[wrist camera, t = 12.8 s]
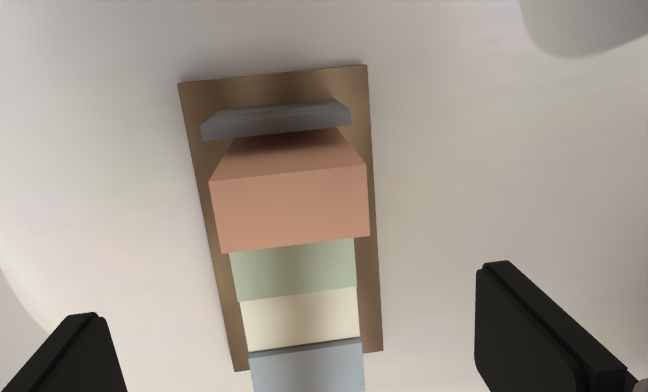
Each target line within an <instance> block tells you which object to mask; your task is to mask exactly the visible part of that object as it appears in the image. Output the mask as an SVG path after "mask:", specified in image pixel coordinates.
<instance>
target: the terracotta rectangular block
mask: <svg viewBox="0 0 648 392" xmlns="http://www.w3.org/2000/svg"><path fill="white" fill-rule="evenodd" d="M208 183H209V189H210V194H211V200H212V205H213V211H214V216H215V221H216V227H217V232H218V238H219V243H220V249H221V254H225V253H233V252H241V251H250V250H258V249H266V248H274V247H283V246H291V245H299V244H307V243H316V242H324V241H332V240H340V239H349V238H357V237H365V236H370V222H369V205H368V187H367V170H366V164H365V162H364V161H363V160H362V159H361V157H360V156H359V155H358V154H357V152H356V151H355V150H354V149H353V147H352V146H351V145H350V144H349V142H348V141H347V140H346V139H345V137H344V136H343V135H342V134H341V133H340V131H339V130H338V129H337V128H336V127H331V128H322V129H312V130H303V131H294V132H285V133H276V134H267V135H258V136H248V137H239V138H234V139H233V141H232V143H231V144H230V146H229V148H228V149H227V151H226V153H225V154H224V156H223V158H222V159H221V161H220V163H219V165H218V166H217V168H216V170H215V171H214V173H213V175H212V176H211V178H210V180H209V181H208Z"/></svg>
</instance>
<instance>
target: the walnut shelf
mask: <svg viewBox="0 0 648 392" xmlns="http://www.w3.org/2000/svg"><path fill="white" fill-rule="evenodd" d="M177 86H178V91H179V96H180V101H181V106H182V111H183V116H184V121H185V126H186V131H187V136H188V141H189V146H190V151H191V156H192V161H193V166H194V171H195V176H196V181H197V186H198V191H199V196H200V201H201V206H202V211H203V216H204V221H205V227H206V232H207V237H208V242H209V247H210V252H211V257H212V262H213V267H214V272H215V277H216V282H217V287H218V292H219V297H220V302H221V307H222V312H223V317H224V322H225V327H226V332H227V337H228V342H229V347H230V352H231V357H232V362H233V367H234V372H239V371H246V370H250V371H251V377H252V382H253V387H254V392H365V381H364V368H363V355H362V354H364V353H371V352H378V351H383V334H382V316H381V299H380V281H379V264H378V247H377V229H376V212H375V194H374V177H373V159H372V142H371V124H370V107H369V89H368V72H367V65H354V66H344V67H334V68H324V69H314V70H304V71H294V72H284V73H274V74H264V75H254V76H244V77H234V78H224V79H214V80H204V81H194V82H184V83H179V84H177ZM331 127H336V128H337V129H338V130H339V131H340V133H341V134H342V135H343V136H344V137H345V139H346V140H347V141H348V142H349V144H350V145H351V146H352V147H353V149H354V150H355V151H356V152H357V154H358V155H359V156H360V157H361V159H362V160H363V161H364V162H365V164H366V170H367V187H368V205H369V222H370V236H365V237H357V238H349V239H340V240H332V241H324V242H316V243H307V244H299V245H291V246H283V247H274V248H266V249H258V250H250V251H241V252H233V253H225V254H221V249H220V243H219V238H218V232H217V227H216V221H215V216H214V211H213V205H212V200H211V194H210V189H209V183H208V181H209V180H210V178H211V176H212V175H213V173H214V171H215V170H216V168H217V166H218V165H219V163H220V161H221V159H222V158H223V156H224V154H225V153H226V151H227V149H228V148H229V146H230V144H231V143H232V141H233V139H234V138H239V137H248V136H258V135H267V134H276V133H285V132H294V131H303V130H312V129H322V128H331Z"/></svg>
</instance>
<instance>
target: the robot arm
mask: <svg viewBox="0 0 648 392" xmlns="http://www.w3.org/2000/svg"><path fill="white" fill-rule="evenodd" d="M474 359H475V364H476V367H477V370H478V372H479V373H480V375H481V377H482V378H483V380H484V382H485V383H486V385H487V387H488V388H489V390H490V391H491V392H648V378H647V379H642V380H641V381H638V380H637V379H636V378H635V377H634V376H633V375H632V374H631V373H629V372H628V371H627V367H626V366H625V365H624V364H623V363H622V362H621V361H619V360H618V359H617V358H616V357H615V356H614V355H613V354H612V353H611V352H609V351H608V350H607V349H606V348H605V347H604V346H603V345H602V344H601V343H599V342H598V341H597V340H596V339H595V338H594V337H593V336H592V335H591V334H589V333H588V332H587V331H586V330H585V329H584V328H583V327H582V326H581V325H579V324H578V323H577V322H576V321H575V320H574V319H573V318H572V317H571V316H570V315H568V314H567V313H566V312H565V311H564V310H563V309H562V308H561V307H560V306H558V305H557V304H556V303H555V302H554V301H553V300H552V299H551V298H550V297H548V296H547V295H546V294H545V293H544V292H543V291H542V290H541V289H540V288H538V287H537V286H536V285H535V284H534V283H533V282H532V281H531V280H530V279H528V278H527V277H526V276H525V275H524V274H523V273H522V272H521V271H520V270H518V269H517V268H516V267H515V266H514V265H513V264H512V263H511V262H509V261H508V260H505V261H497V262H489V263H485V264H484V265H483V267H482V269H479V270H477V273H476V301H475V345H474ZM1 392H128V391H127V388H126V385H125V381H124V378H123V375H122V371H121V368H120V365H119V361H118V358H117V355H116V351H115V348H114V345H113V341H112V338H111V335H110V331H109V328H108V325H107V322H106V320H105V318H103V317H99V316H98V315H97V313H95V312H89V313H81V314H73V315H68V316H67V317H66V318H65V319H64V320H63V321H62V322H61V323H60V325H59V326H58V327H57V328H56V329H55V330H54V331H53V333H52V334H51V335H50V336H49V337H48V338H47V339H46V341H45V342H44V343H43V344H42V345H41V346H40V348H39V349H38V350H37V351H36V352H35V353H34V355H33V356H32V357H31V358H30V359H29V360H28V361H27V362H26V364H25V365H24V366H23V367H22V368H21V369H20V371H19V372H18V373H17V374H16V375H15V376H14V377H13V379H12V380H11V381H10V382H9V383H8V384H7V386H6V387H5V388H4V389H3V390H2V391H1Z"/></svg>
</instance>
